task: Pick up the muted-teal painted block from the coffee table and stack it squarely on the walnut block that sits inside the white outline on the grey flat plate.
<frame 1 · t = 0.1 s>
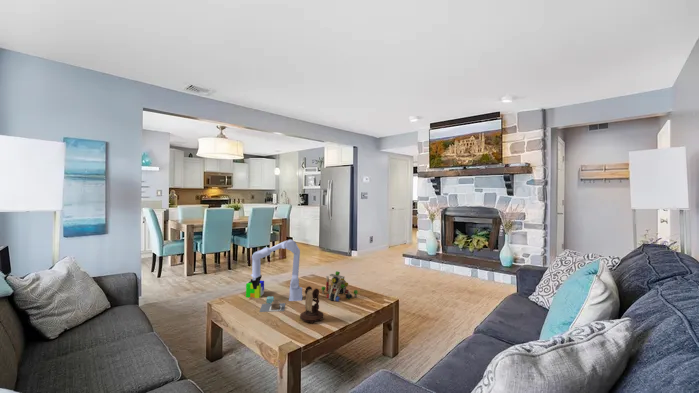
hand: (256, 287, 220), 10 cm above the table, fingers open, 7 cm apart
grey flat plate: (272, 308, 207), on the table
puzzle toy: (255, 295, 232), on the table
toy construction set: (335, 296, 234), on the table
wooden figurine on stand: (311, 319, 191), on the table
teal block: (270, 303, 217), on the table
walnut block: (275, 308, 206), point 1 cm above the table, touching grey flat plate
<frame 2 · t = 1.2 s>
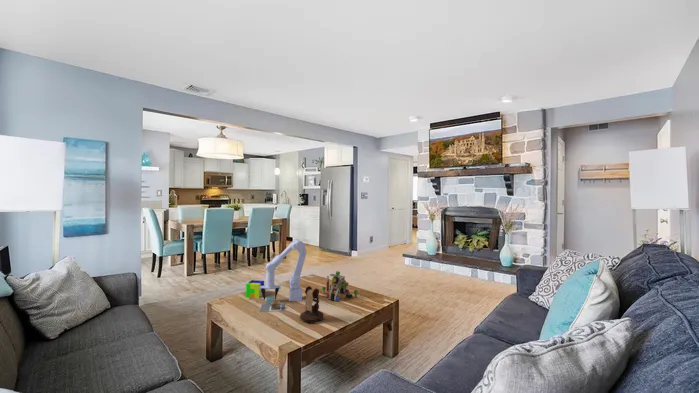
hand: (270, 298, 217), 3 cm above the table, fingers open, 7 cm apart
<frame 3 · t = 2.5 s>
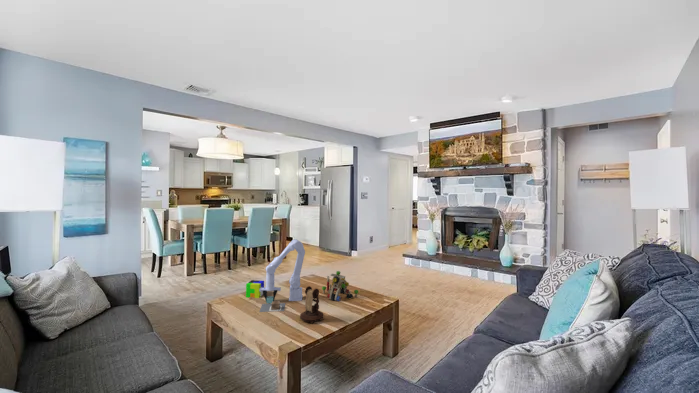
hand: (270, 300, 217), 1 cm above the table, fingers closed on teal block, 4 cm apart
teal block: (270, 302, 217), on the table, touching gripper
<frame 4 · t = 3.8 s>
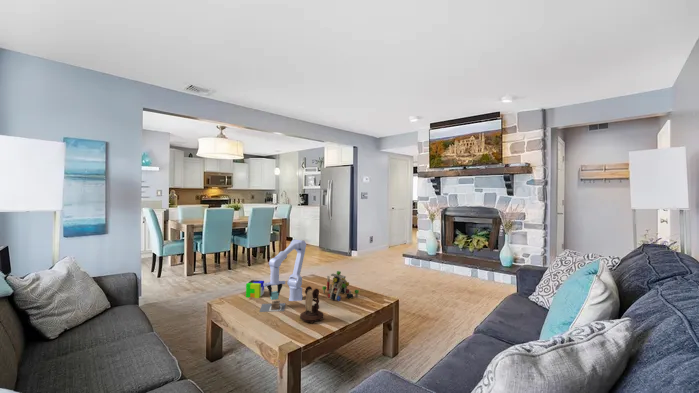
hand: (274, 295, 208), 8 cm above the table, fingers closed on teal block, 4 cm apart
teal block: (274, 298, 208), point 7 cm above the table, touching gripper
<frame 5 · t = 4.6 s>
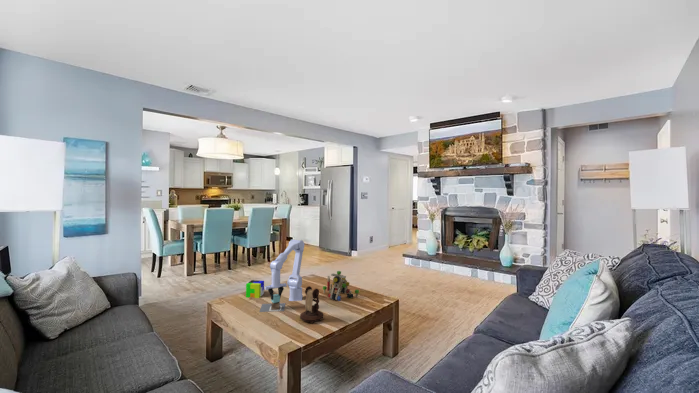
hand: (275, 298, 206), 7 cm above the table, fingers closed on teal block, 4 cm apart
teal block: (275, 301, 206), point 5 cm above the table, touching gripper
when the fingers open (7 cm above the table, at t = 5.2 s): teal block stays where it is, resting on walnut block.
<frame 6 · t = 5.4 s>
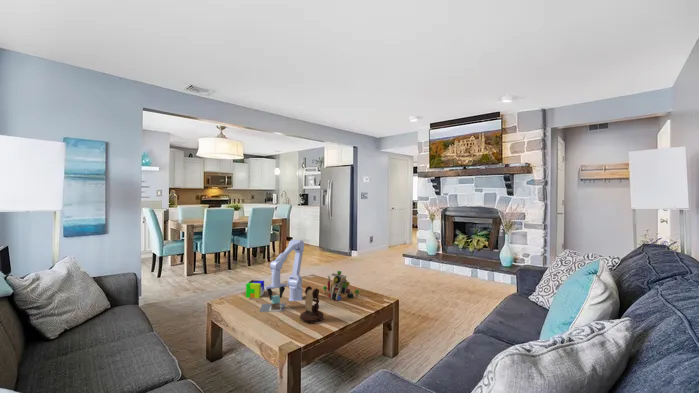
hand: (275, 298, 206), 7 cm above the table, fingers open, 6 cm apart
teal block: (275, 302, 206), point 5 cm above the table, touching walnut block
walnut block: (275, 308, 206), point 1 cm above the table, touching grey flat plate, teal block
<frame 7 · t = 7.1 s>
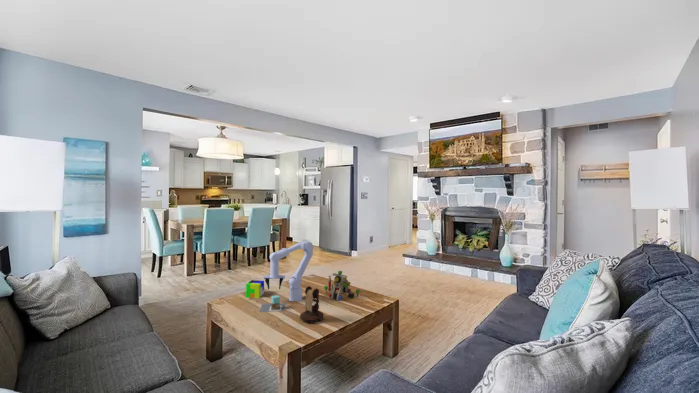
hand: (274, 288, 216), 10 cm above the table, fingers open, 7 cm apart
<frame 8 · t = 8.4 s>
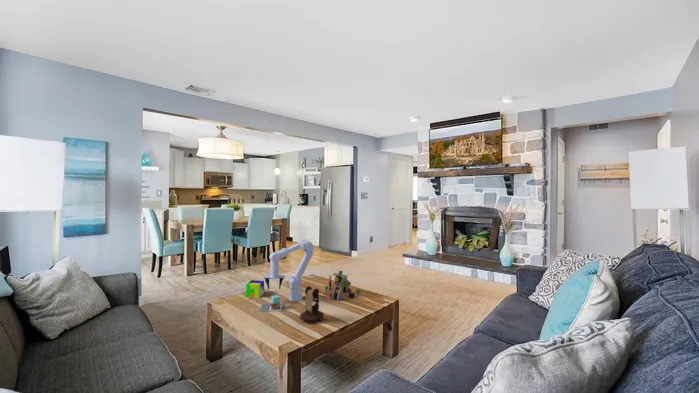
hand: (274, 288, 216), 10 cm above the table, fingers open, 7 cm apart
at the end: teal block 0.3 cm off-centre on the walnut block, point 4.0 cm above the walnut block's base; teal block tilted 0°; the gripper is holding nothing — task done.
